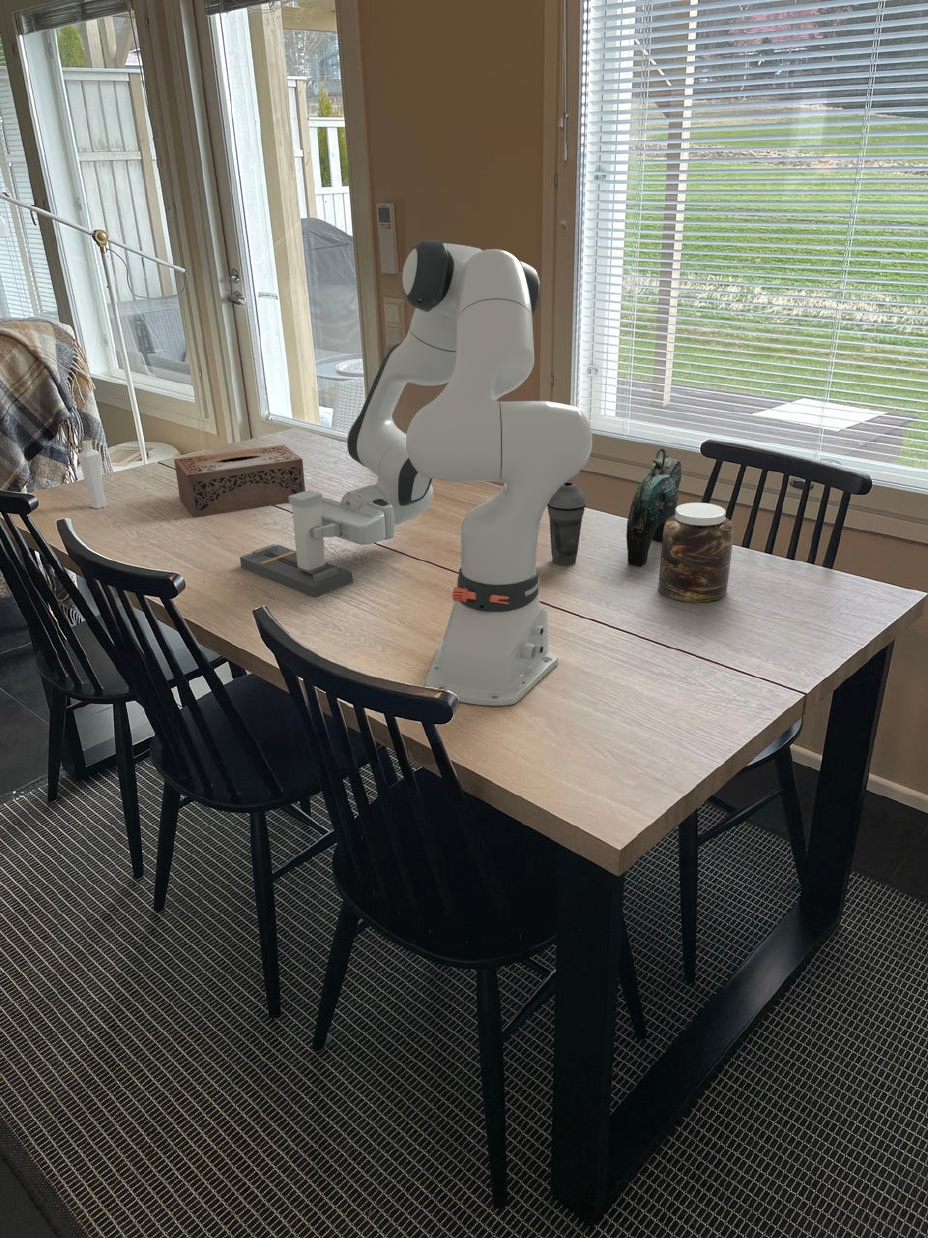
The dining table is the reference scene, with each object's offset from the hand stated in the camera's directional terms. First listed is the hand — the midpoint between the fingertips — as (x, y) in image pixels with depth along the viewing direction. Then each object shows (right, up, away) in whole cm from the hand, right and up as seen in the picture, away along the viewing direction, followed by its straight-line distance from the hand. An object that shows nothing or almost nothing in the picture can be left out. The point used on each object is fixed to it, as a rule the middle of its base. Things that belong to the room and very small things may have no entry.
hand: (304, 531), depth 166 cm
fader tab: (+1, -7, +4) cm, 8 cm away
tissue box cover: (-23, +11, +49) cm, 56 cm away
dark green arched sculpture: (+66, -3, +17) cm, 68 cm away
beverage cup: (+48, -5, +12) cm, 50 cm away
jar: (+69, -11, -1) cm, 70 cm away
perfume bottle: (-55, +10, +46) cm, 72 cm away
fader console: (-3, -7, +8) cm, 11 cm away
